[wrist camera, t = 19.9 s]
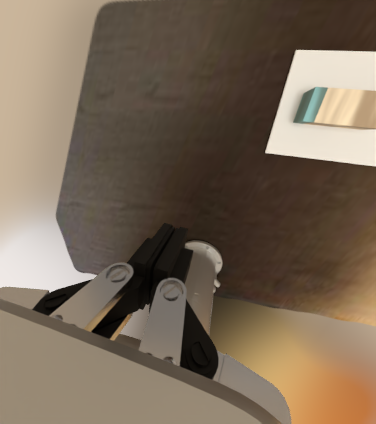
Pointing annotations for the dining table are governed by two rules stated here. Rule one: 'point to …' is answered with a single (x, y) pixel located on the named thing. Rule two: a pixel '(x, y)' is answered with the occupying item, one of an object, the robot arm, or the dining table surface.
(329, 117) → the block
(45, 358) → the robot arm
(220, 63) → the dining table surface
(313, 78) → the mat
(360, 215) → the dining table surface
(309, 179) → the dining table surface
